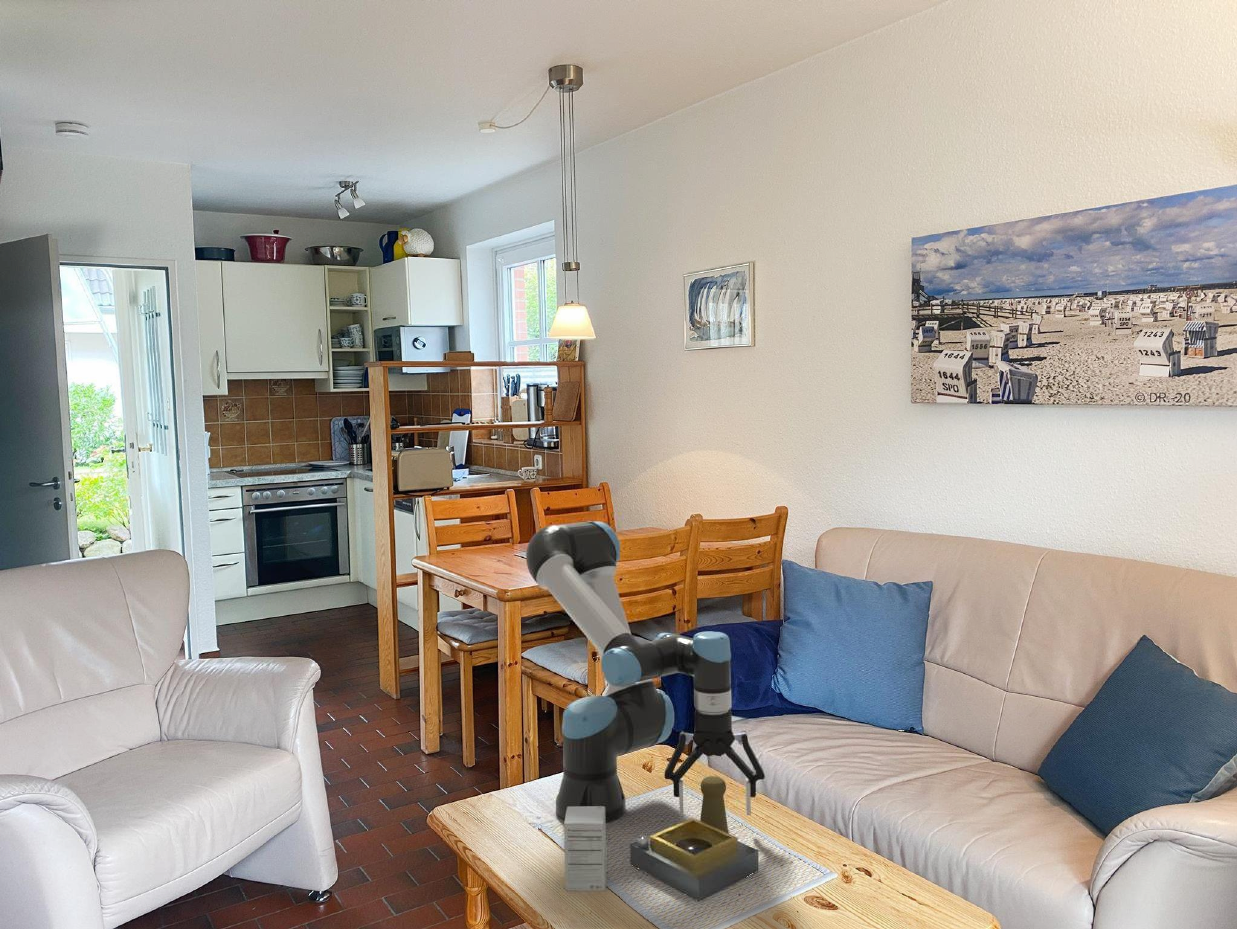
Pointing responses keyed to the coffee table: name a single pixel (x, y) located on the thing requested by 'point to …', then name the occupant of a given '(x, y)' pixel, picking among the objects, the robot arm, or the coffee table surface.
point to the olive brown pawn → (714, 803)
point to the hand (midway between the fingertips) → (714, 812)
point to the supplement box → (585, 848)
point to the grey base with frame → (694, 858)
